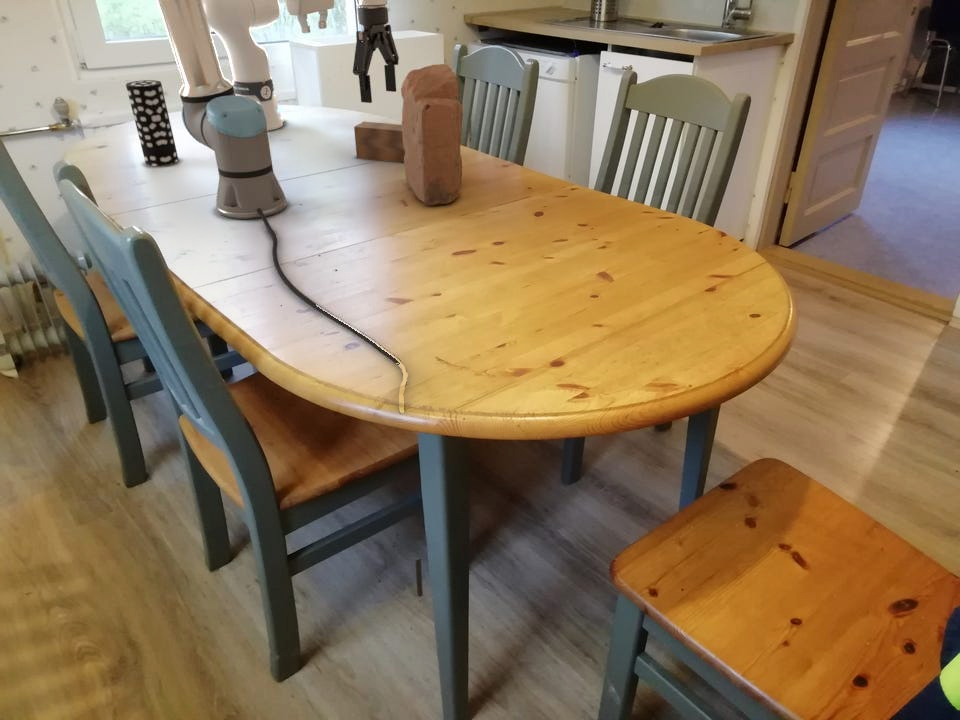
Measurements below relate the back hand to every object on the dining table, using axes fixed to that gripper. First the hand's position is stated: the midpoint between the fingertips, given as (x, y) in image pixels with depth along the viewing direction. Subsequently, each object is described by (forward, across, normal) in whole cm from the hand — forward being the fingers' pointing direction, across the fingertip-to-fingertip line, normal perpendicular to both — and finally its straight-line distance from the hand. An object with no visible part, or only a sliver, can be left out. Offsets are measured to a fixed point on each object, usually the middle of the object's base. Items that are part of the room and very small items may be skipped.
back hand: (314, 30), depth 187 cm
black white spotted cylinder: (+20, +30, -34) cm, 50 cm away
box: (+30, +7, +26) cm, 41 cm away
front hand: (+14, +10, +22) cm, 28 cm away
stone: (+30, +30, +44) cm, 61 cm away
